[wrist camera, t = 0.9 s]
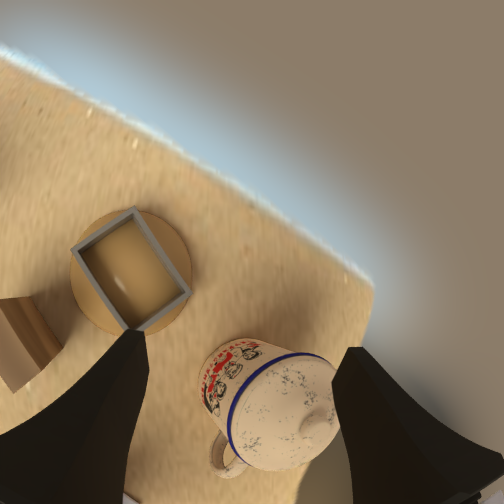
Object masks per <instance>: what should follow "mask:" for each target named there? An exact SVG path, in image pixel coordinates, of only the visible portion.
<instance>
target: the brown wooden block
mask: <svg viewBox="0 0 504 504" xmlns="http://www.w3.org/2000/svg"><path fill="white" fill-rule="evenodd" d="M62 349H63V347H62V345H61V344H60V343H59V341H58V340H57V338H56V337H55V336H54V334H53V333H52V331H51V330H50V328H49V327H48V325H47V324H46V322H45V321H44V319H43V317H42V316H41V314H40V313H39V311H38V309H37V308H36V306H35V305H34V303H33V301H32V300H31V298H30V296H28V297H18V298H8V299H0V376H1V377H2V379H3V380H4V382H5V383H6V384H7V386H8V387H9V389H10V390H11V391H12V393H13V394H14V393H15V392H16V391H18V390H19V389H20V388H21V387H22V386H24V385H25V384H26V383H27V382H29V381H30V380H31V379H32V378H34V377H35V376H36V375H37V374H38V373H40V372H41V371H42V370H43V369H44V368H45V367H46V366H47V365H48V364H49V362H50V361H51V360H52V359H53V358H54V357H55V356H56V355H57V354H58V353H59V352H60V351H61V350H62Z"/></svg>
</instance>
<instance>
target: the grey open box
mask: <svg viewBox="0 0 504 504" xmlns="http://www.w3.org/2000/svg"><path fill="white" fill-rule="evenodd" d="M70 250H71V252H72V253H73V255H72V259H71V265H70V281H71V287H72V291H73V295H74V297H75V299H76V302H77V304H78V305H79V307H80V309H81V310H82V312H83V313H84V314H85V316H86V317H87V318H88V319H89V320H90V321H91V322H92V323H94V324H95V325H96V326H98V327H99V328H101V329H102V330H104V331H106V332H108V333H111V334H113V335H117V336H121V335H122V334H123V332H124V331H125V330H127V329H133V330H139V331H144V333H145V336H147V335H150V334H153V333H155V332H158V331H160V330H161V329H163V328H164V327H166V326H168V325H169V324H170V323H171V322H172V321H173V320H174V319H175V318H176V317H177V316H178V315H179V313H180V312H181V310H182V309H183V307H184V305H185V303H186V301H187V299H188V297H189V296H191V295H192V294H193V292H192V291H191V290H190V288H191V282H192V267H191V261H190V257H189V254H188V251H187V249H186V246H185V244H184V243H183V241H182V239H181V238H180V236H179V235H178V234H177V232H176V231H175V230H174V229H173V228H172V227H171V226H170V225H169V224H167V223H166V222H165V221H163V220H162V219H160V218H158V217H156V216H154V215H152V214H149V213H146V212H142V211H138V210H137V208H136V207H135V205H134V206H133V207H131V208H130V209H128V210H125V211H118V212H114V213H111V214H108V215H106V216H104V217H102V218H100V219H98V220H97V221H96V222H94V223H93V224H92V225H91V226H90V227H89V228H88V229H87V230H86V231H85V232H84V233H83V235H82V236H81V237H80V239H79V241H78V242H77V244H76V245H75V246H74V247H73V248H71V249H70Z"/></svg>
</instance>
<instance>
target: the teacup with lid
mask: <svg viewBox="0 0 504 504" xmlns="http://www.w3.org/2000/svg"><path fill="white" fill-rule="evenodd" d="M336 372H337V370H336V369H335V368H334V367H333V366H332V365H331V364H330V363H329V362H328V361H327V360H325V359H324V358H322V357H320V356H317V355H314V354H310V353H296V352H293V351H290V350H287V349H284V348H281V347H278V346H275V345H272V344H269V343H266V342H264V341H261V340H257V339H250V338H245V339H237V340H233V341H231V342H228V343H226V344H224V345H222V346H221V347H219V348H218V349H216V350H215V351H214V352H213V353H212V354H211V355H210V356H209V358H208V359H207V360H206V362H205V363H204V365H203V367H202V369H201V372H200V375H199V379H198V394H199V398H200V401H201V404H202V406H203V407H204V409H205V410H206V412H207V413H208V414H209V416H210V417H211V418H212V420H213V421H214V422H215V423H216V425H217V426H218V427H219V429H220V430H219V431H218V433H217V434H216V436H215V437H214V439H213V441H212V444H211V446H210V451H209V463H210V467H211V469H212V471H213V472H214V473H215V474H216V475H217V476H219V477H222V478H227V479H229V478H234V477H236V476H238V475H240V474H241V473H242V472H243V471H244V470H245V469H246V468H247V467H248V465H250V466H253V467H255V468H258V469H261V470H266V471H284V470H289V469H293V468H296V467H298V466H301V465H303V464H305V463H307V462H309V461H310V460H312V459H313V458H315V457H316V456H317V455H318V454H320V453H321V452H322V451H323V450H324V449H325V448H326V447H327V446H328V444H329V443H330V442H331V441H332V440H333V438H334V437H335V435H336V433H337V431H338V430H339V428H340V424H339V421H338V417H337V413H336V410H335V406H334V400H333V393H332V385H331V381H332V379H333V378H334V376H335V374H336ZM228 441H229V443H230V445H231V447H232V449H233V451H234V452H235V454H236V457H235V458H234V459H233V461H232V462H231V463H230V464H229V465H228V466H226V467H225V466H224V463H223V454H224V449H225V447H226V445H227V443H228Z"/></svg>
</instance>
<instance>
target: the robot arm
mask: <svg viewBox="0 0 504 504" xmlns="http://www.w3.org/2000/svg"><path fill="white" fill-rule="evenodd" d="M148 375H149V363H148V356H147V349H146V341H145V333H144V331H139V330H133V329H127V330H125V331H124V332H123V334H122V335H121V336H120V337H119V338H118V339H117V340H116V342H115V343H114V344H113V345H112V346H111V347H110V348H109V349H108V350H107V352H106V353H105V354H104V355H103V356H102V357H101V358H100V359H99V360H98V361H97V362H96V363H95V364H94V365H93V366H92V367H91V369H90V370H89V371H88V372H87V373H86V374H84V375H83V376H82V377H81V378H80V379H79V380H78V381H77V382H76V383H75V384H74V385H73V386H72V387H71V388H70V389H68V390H67V391H66V392H65V393H64V394H63V395H62V396H60V397H59V398H58V399H57V400H55V401H54V402H53V403H52V404H50V405H49V406H48V407H46V408H45V409H43V410H42V411H41V412H39V413H38V414H36V415H35V416H33V417H32V418H30V419H29V420H27V421H25V422H24V423H22V424H20V425H18V426H16V427H15V428H13V429H11V430H9V431H8V432H6V433H4V434H1V435H0V504H139V503H138V502H136V501H135V500H133V499H132V498H130V497H129V496H127V495H126V494H125V493H123V491H124V481H125V472H126V465H127V458H128V452H129V448H130V443H131V440H132V436H133V433H134V429H135V426H136V423H137V419H138V416H139V413H140V409H141V406H142V403H143V399H144V396H145V391H146V386H147V381H148ZM331 385H332V393H333V400H334V406H335V410H336V413H337V417H338V421H339V424H340V428H341V431H342V435H343V438H344V442H345V446H346V449H347V453H348V458H349V463H350V470H351V478H352V489H353V504H478V501H477V500H478V499H480V498H481V493H480V491H481V490H482V489H484V488H485V487H487V486H488V485H490V484H491V483H493V482H494V481H496V480H497V479H498V478H500V477H501V476H503V475H504V459H503V457H502V455H501V454H500V453H498V452H495V451H492V450H490V449H487V448H485V447H482V446H480V445H478V444H476V443H474V442H472V441H470V440H468V439H466V438H464V437H463V436H461V435H459V434H458V433H456V432H454V431H453V430H451V429H450V428H448V427H447V426H445V425H444V424H443V423H441V422H440V421H438V420H437V419H436V418H434V417H433V416H432V415H431V414H429V413H428V412H427V411H426V410H425V409H424V408H422V407H421V406H420V405H419V404H418V403H417V402H416V401H415V400H414V399H412V397H410V396H409V395H408V394H407V393H406V392H405V391H404V390H403V389H402V388H401V387H400V386H399V385H398V384H397V382H396V381H394V379H393V378H392V377H391V376H390V375H389V374H388V373H387V372H386V371H385V370H384V369H383V368H382V367H381V365H380V364H379V363H378V362H377V361H376V360H375V359H374V358H373V357H372V356H371V355H370V354H369V353H368V352H367V351H366V350H365V349H364V348H363V347H348V349H347V351H346V353H345V356H344V358H343V360H342V362H341V364H340V366H339V368H338V370H337V372H336V374H335V376H334V378H333V379H332V381H331ZM479 504H504V496H503V493H502V491H501V490H499V491H497V492H496V493H494V494H493V495H491V496H489V497H488V498H486V499H485V500H483V501H482V502H480V503H479Z"/></svg>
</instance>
